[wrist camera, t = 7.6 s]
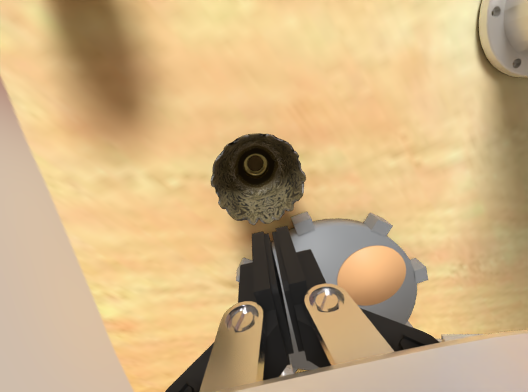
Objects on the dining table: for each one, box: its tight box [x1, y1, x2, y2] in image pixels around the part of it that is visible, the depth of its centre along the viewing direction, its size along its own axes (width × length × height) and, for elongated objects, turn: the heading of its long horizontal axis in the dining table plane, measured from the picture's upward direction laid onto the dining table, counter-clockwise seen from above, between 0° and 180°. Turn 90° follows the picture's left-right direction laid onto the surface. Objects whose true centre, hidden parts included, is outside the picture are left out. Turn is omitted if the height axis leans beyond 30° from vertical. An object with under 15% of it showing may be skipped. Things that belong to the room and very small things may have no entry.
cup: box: [211, 134, 306, 225], centre depth 23 cm, size 8×7×8 cm
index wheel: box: [236, 212, 428, 376], centre depth 30 cm, size 24×24×7 cm
